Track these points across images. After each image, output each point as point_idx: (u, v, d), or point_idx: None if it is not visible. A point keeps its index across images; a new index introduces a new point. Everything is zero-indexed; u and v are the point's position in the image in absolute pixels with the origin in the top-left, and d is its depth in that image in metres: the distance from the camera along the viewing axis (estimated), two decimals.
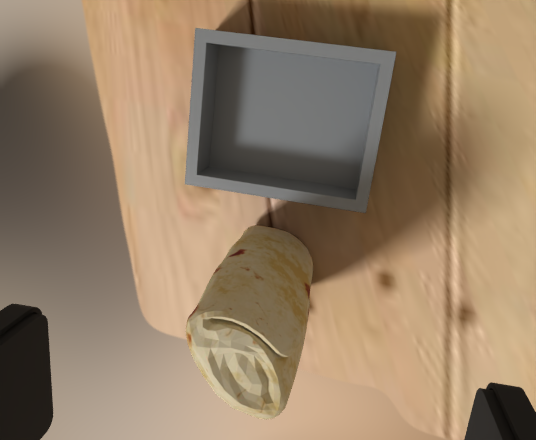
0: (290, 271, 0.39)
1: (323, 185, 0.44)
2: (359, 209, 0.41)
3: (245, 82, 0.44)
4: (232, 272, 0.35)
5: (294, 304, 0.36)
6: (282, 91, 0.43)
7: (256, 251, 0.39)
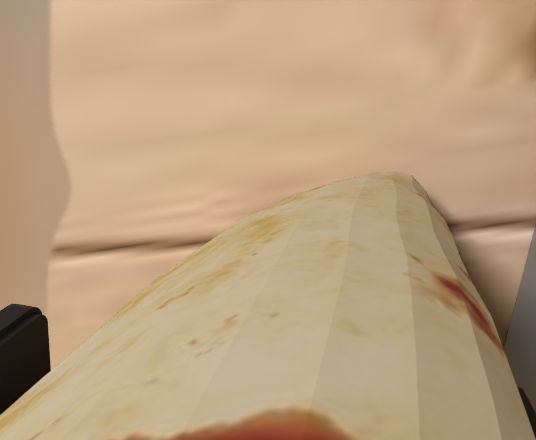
0: None
1: None
2: None
3: None
4: None
5: None
6: None
7: None
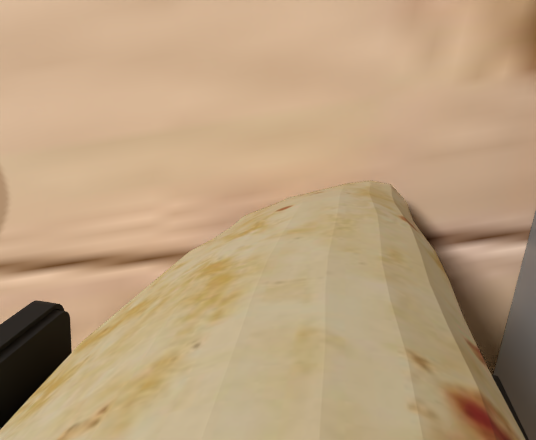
0: None
1: None
2: None
3: None
4: None
5: None
6: None
7: None
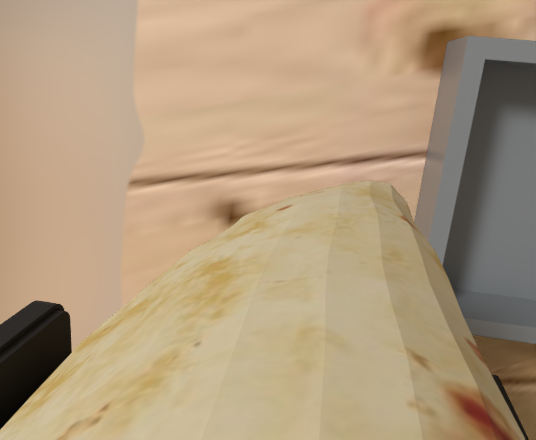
0: None
1: None
2: None
3: None
4: None
5: None
6: None
7: None
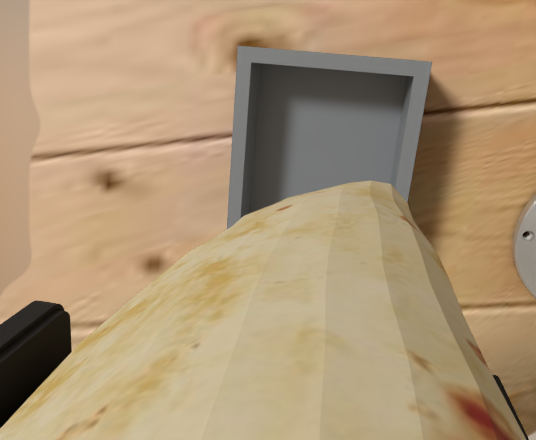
0: None
1: (249, 203, 0.40)
2: None
3: (363, 109, 0.37)
4: None
5: None
6: (351, 153, 0.38)
7: None
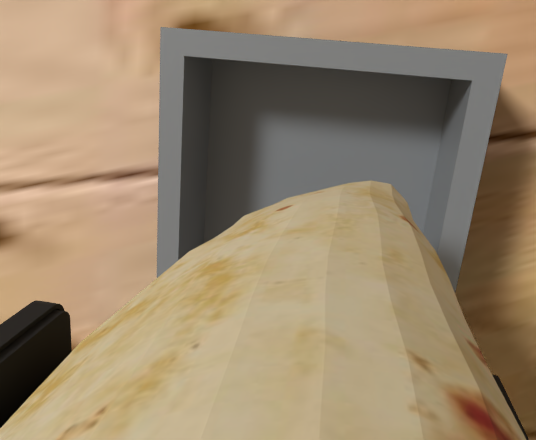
0: None
1: None
2: None
3: (377, 134, 0.23)
4: None
5: None
6: None
7: None
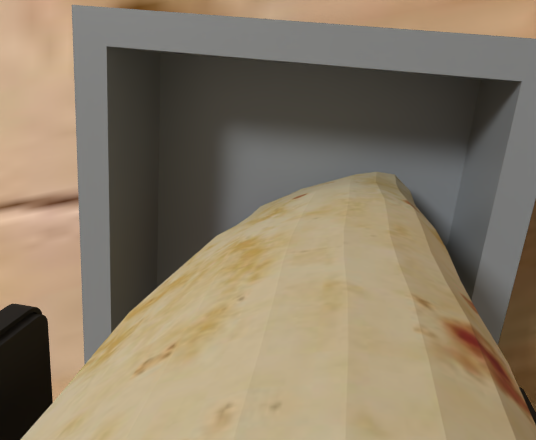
0: None
1: None
2: None
3: (380, 152, 0.17)
4: None
5: None
6: None
7: None
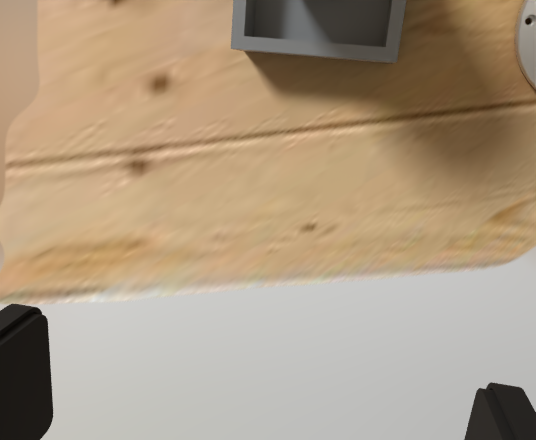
0: None
1: (255, 1, 0.41)
2: (234, 41, 0.38)
3: None
4: None
5: None
6: None
7: None
